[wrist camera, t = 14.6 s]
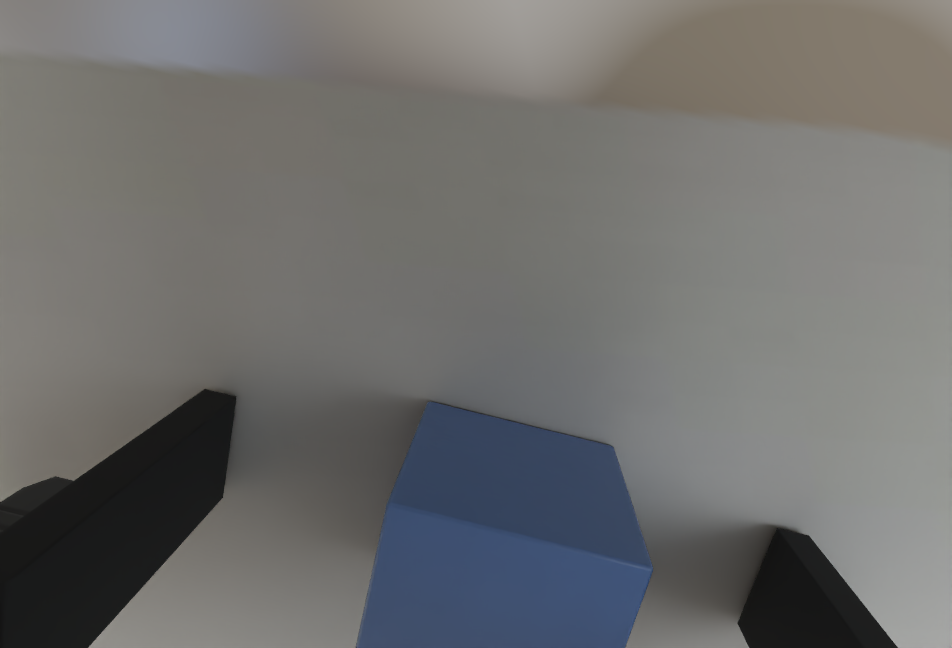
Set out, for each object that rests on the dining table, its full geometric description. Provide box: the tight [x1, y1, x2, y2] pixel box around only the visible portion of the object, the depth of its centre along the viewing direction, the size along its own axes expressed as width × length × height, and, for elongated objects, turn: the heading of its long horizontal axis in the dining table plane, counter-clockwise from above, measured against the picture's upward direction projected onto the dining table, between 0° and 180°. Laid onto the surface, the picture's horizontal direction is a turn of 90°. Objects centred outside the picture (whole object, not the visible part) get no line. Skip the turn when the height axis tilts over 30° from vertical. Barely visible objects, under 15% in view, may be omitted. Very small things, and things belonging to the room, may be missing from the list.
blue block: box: [356, 402, 653, 648], centre depth 12 cm, size 4×4×4 cm
